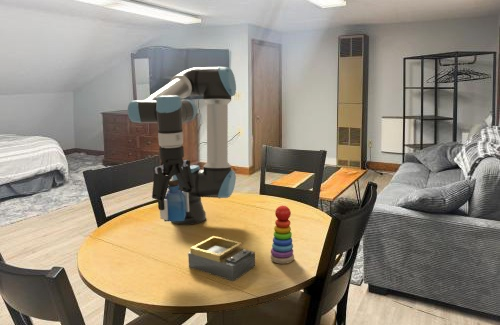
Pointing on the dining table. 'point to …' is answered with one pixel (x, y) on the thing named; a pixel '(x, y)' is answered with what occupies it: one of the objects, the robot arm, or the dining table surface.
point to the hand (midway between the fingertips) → (175, 214)
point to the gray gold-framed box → (221, 258)
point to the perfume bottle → (175, 202)
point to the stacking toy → (282, 237)
